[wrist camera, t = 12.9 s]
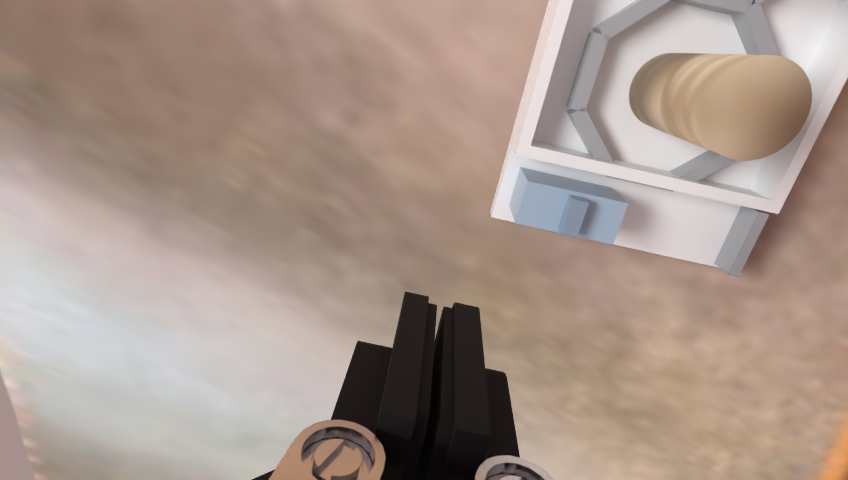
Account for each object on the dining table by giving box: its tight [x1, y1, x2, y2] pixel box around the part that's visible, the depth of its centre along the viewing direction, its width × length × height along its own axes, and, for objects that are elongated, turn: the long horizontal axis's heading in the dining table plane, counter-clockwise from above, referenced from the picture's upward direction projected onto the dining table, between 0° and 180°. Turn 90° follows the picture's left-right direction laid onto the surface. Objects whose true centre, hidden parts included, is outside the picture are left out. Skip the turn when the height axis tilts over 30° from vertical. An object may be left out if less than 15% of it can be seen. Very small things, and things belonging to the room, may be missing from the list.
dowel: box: [629, 53, 812, 161], centre depth 21 cm, size 4×4×8 cm
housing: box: [490, 0, 848, 277], centre depth 23 cm, size 22×14×3 cm, turn 168°
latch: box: [509, 167, 629, 245], centre depth 25 cm, size 2×5×4 cm, turn 78°
